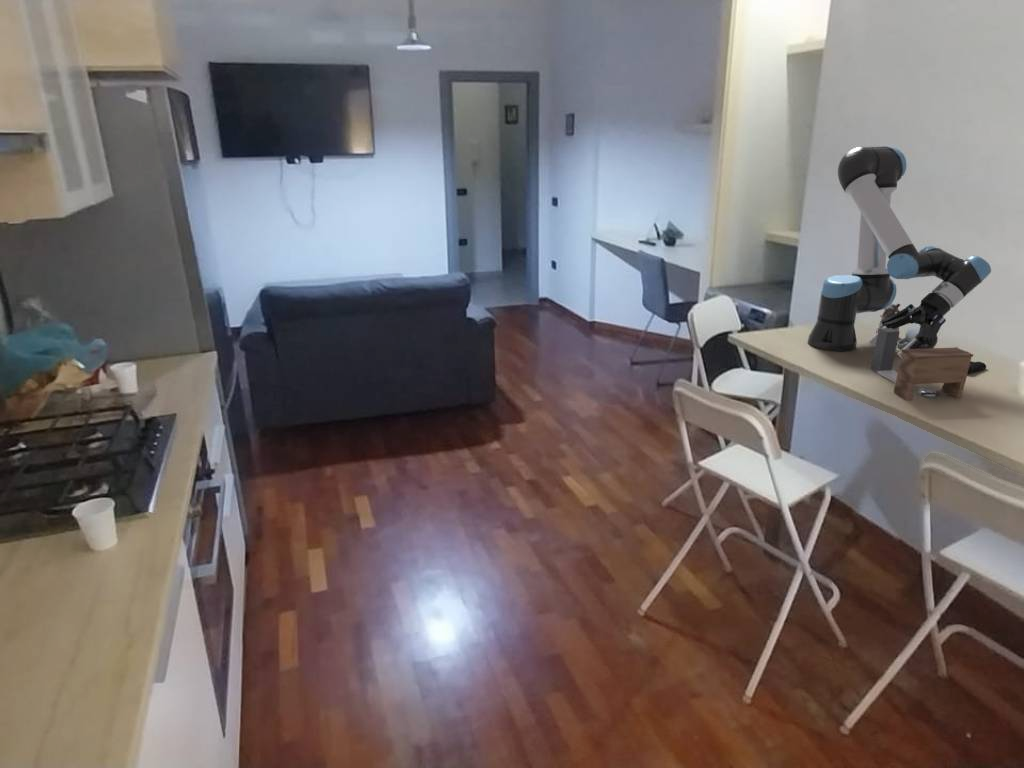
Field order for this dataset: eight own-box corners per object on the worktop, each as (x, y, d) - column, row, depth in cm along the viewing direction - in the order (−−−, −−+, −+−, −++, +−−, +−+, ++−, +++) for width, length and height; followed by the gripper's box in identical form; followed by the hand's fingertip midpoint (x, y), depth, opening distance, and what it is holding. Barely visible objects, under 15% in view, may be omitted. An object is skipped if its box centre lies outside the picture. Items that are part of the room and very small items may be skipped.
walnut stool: (892, 391, 191) (901, 349, 186) (945, 389, 193) (956, 347, 188) (907, 400, 185) (917, 356, 180) (962, 397, 187) (973, 354, 182)
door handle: (930, 344, 227) (903, 349, 219) (995, 361, 211) (969, 366, 203) (927, 354, 228) (901, 359, 220) (992, 371, 212) (966, 377, 204)
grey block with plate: (869, 368, 209) (877, 328, 205) (884, 368, 210) (892, 327, 205) (903, 387, 194) (912, 343, 190) (919, 386, 195) (929, 343, 191)
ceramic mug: (923, 345, 233) (928, 323, 231) (935, 352, 226) (940, 330, 223) (891, 344, 234) (895, 323, 232) (902, 351, 227) (906, 329, 224)
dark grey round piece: (914, 393, 191) (915, 389, 190) (929, 392, 191) (930, 388, 191) (924, 398, 187) (925, 394, 186) (939, 398, 187) (940, 394, 186)
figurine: (871, 333, 247) (878, 301, 243) (891, 333, 247) (897, 301, 242) (881, 338, 240) (888, 306, 236) (901, 339, 240) (908, 306, 236)
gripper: (906, 283, 212) (853, 331, 215) (966, 301, 189) (907, 354, 192) (918, 299, 215) (866, 346, 218) (979, 319, 192) (920, 371, 195)
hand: (885, 350), depth 205 cm, fingers open, 13 cm apart
